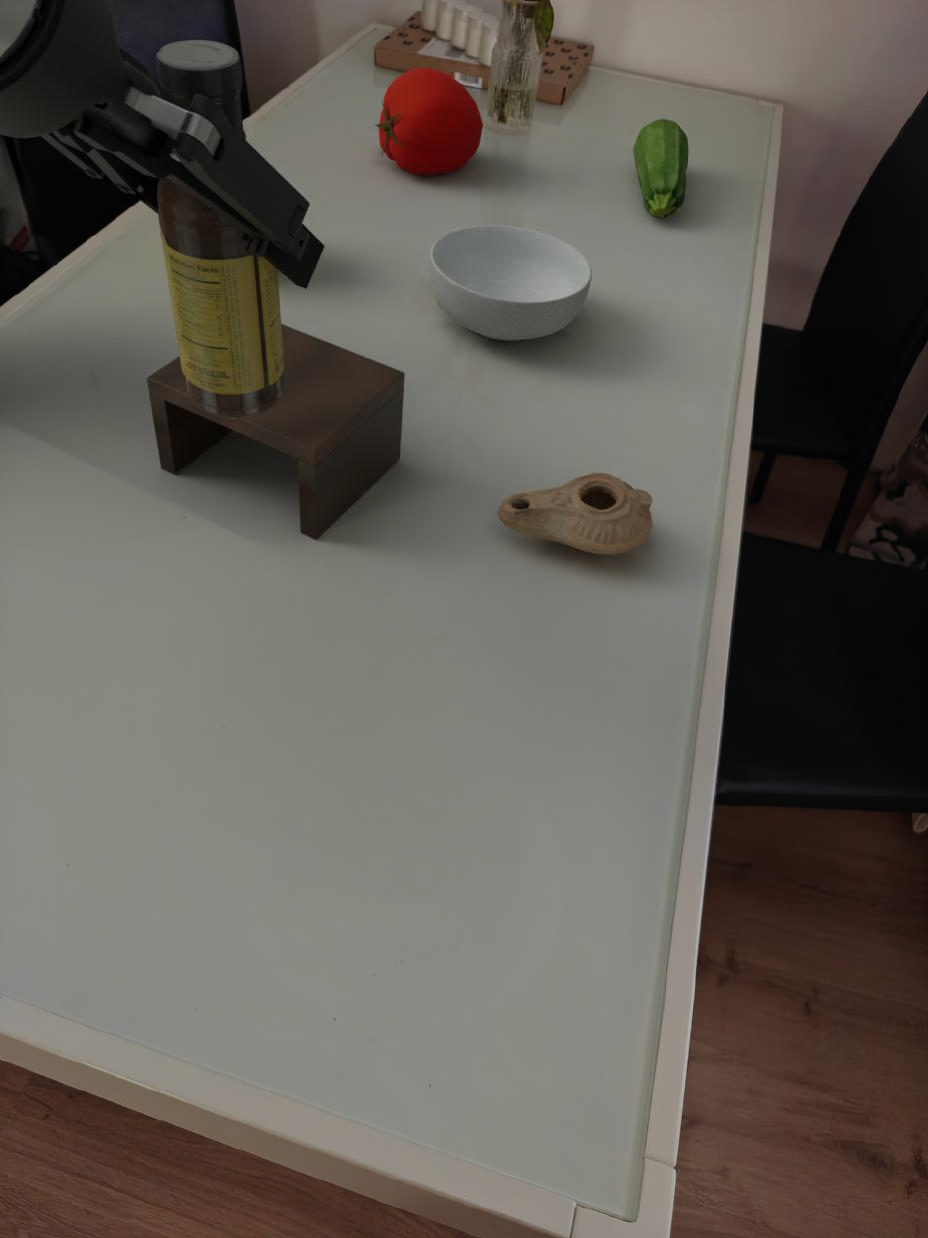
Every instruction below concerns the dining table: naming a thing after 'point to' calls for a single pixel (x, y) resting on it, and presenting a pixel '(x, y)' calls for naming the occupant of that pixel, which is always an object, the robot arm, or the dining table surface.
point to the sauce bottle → (217, 262)
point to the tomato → (429, 123)
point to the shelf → (300, 424)
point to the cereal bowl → (508, 281)
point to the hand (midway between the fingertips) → (261, 246)
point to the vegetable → (662, 166)
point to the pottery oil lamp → (583, 514)
